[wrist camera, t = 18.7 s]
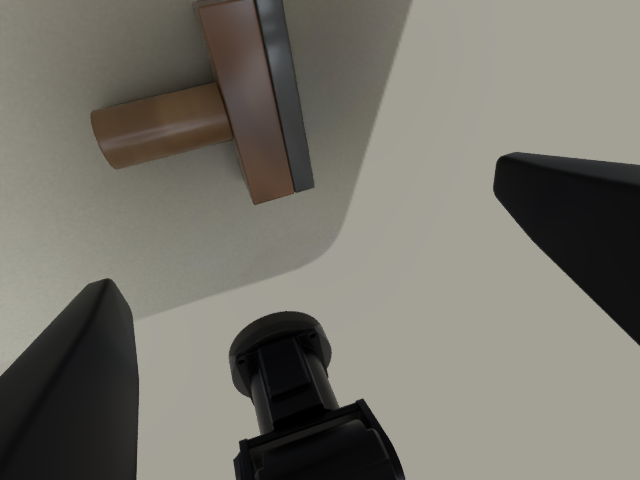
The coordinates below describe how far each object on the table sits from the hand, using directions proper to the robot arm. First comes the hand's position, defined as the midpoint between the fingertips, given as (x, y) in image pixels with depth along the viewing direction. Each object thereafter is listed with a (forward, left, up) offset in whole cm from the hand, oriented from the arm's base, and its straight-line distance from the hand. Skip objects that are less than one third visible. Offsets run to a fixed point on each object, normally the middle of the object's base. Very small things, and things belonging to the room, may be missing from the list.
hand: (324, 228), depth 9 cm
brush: (0, -2, -10) cm, 11 cm away
